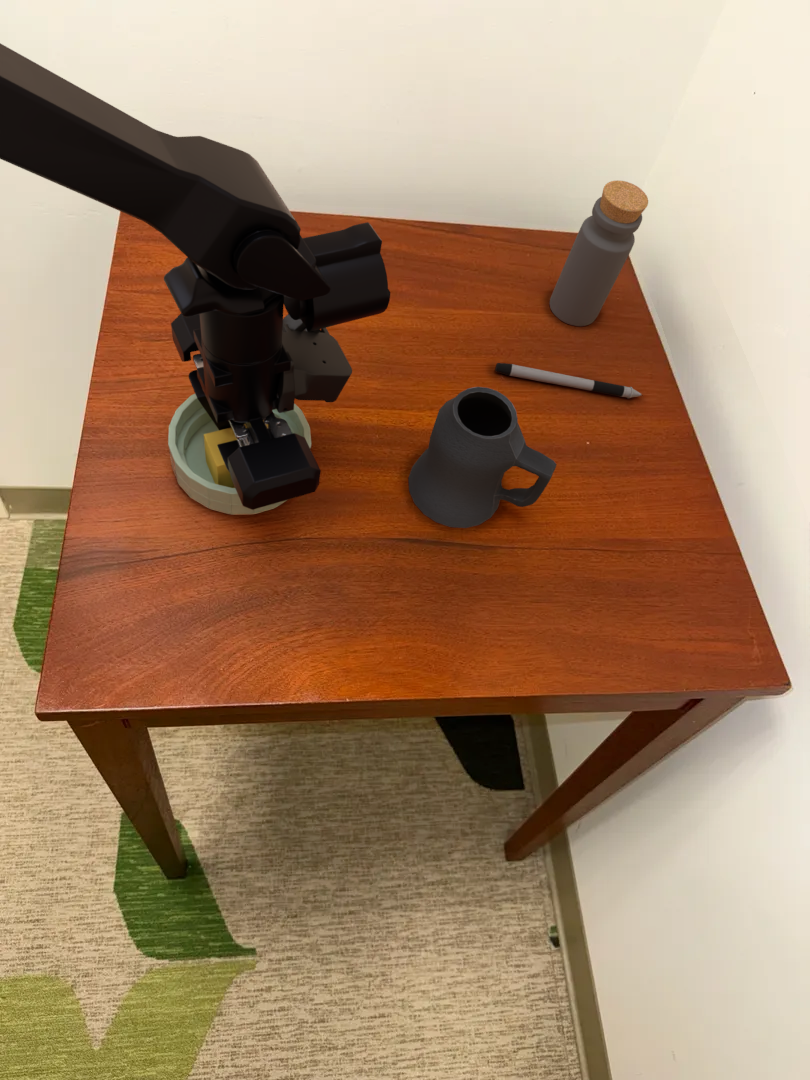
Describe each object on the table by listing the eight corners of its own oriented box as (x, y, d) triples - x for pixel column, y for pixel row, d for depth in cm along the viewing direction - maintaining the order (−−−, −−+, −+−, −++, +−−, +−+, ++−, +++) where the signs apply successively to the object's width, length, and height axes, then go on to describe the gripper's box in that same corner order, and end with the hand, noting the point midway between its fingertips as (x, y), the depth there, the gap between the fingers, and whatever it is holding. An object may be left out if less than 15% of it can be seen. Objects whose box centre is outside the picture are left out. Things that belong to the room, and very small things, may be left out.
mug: (392, 500, 71) (413, 425, 62) (430, 434, 76) (456, 355, 66) (509, 557, 70) (549, 490, 61) (540, 487, 75) (582, 414, 65)
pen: (494, 367, 82) (497, 358, 81) (640, 394, 84) (645, 386, 83) (494, 376, 82) (497, 367, 80) (641, 403, 83) (646, 395, 82)
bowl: (196, 536, 66) (193, 510, 62) (155, 428, 71) (150, 399, 67) (327, 497, 70) (331, 471, 67) (280, 398, 75) (282, 369, 71)
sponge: (218, 493, 67) (216, 466, 64) (205, 461, 69) (203, 433, 65) (283, 475, 70) (284, 448, 66) (269, 444, 71) (270, 417, 68)
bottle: (541, 311, 88) (590, 196, 75) (559, 283, 91) (609, 168, 78) (587, 334, 87) (644, 222, 74) (603, 305, 90) (661, 193, 77)
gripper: (396, 406, 54) (367, 521, 67) (299, 233, 62) (291, 367, 75) (244, 445, 50) (245, 558, 64) (160, 255, 58) (177, 392, 71)
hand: (243, 462), depth 68 cm, fingers closed on sponge, 3 cm apart
